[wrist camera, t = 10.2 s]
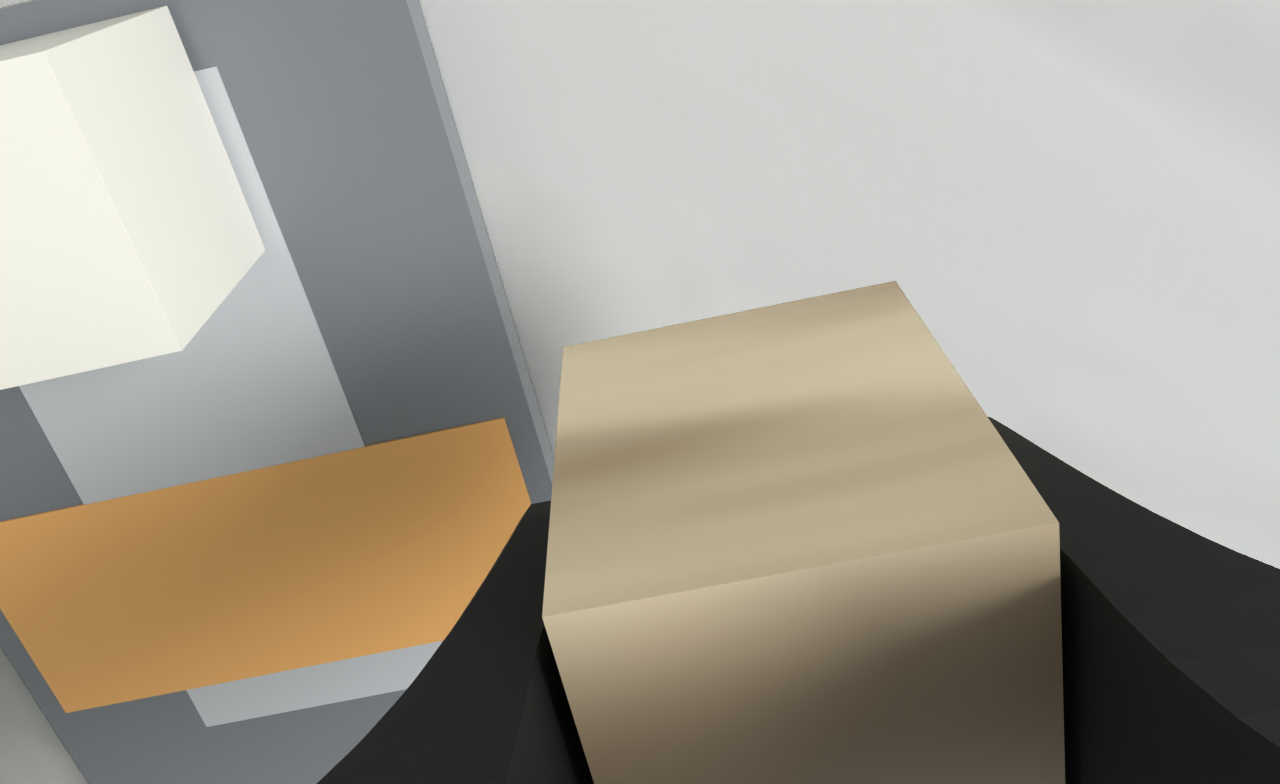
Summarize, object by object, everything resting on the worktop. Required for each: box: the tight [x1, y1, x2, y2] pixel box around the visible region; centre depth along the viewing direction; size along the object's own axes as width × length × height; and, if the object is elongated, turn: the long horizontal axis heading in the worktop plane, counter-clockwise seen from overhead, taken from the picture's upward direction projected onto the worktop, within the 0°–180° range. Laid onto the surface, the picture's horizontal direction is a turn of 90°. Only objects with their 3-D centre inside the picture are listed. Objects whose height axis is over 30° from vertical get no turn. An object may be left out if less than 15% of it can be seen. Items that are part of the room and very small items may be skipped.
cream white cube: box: [0, 6, 265, 390], centre depth 15 cm, size 4×5×4 cm
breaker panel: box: [0, 0, 554, 784], centre depth 20 cm, size 17×12×1 cm
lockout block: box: [542, 281, 1065, 784], centre depth 11 cm, size 4×4×5 cm
